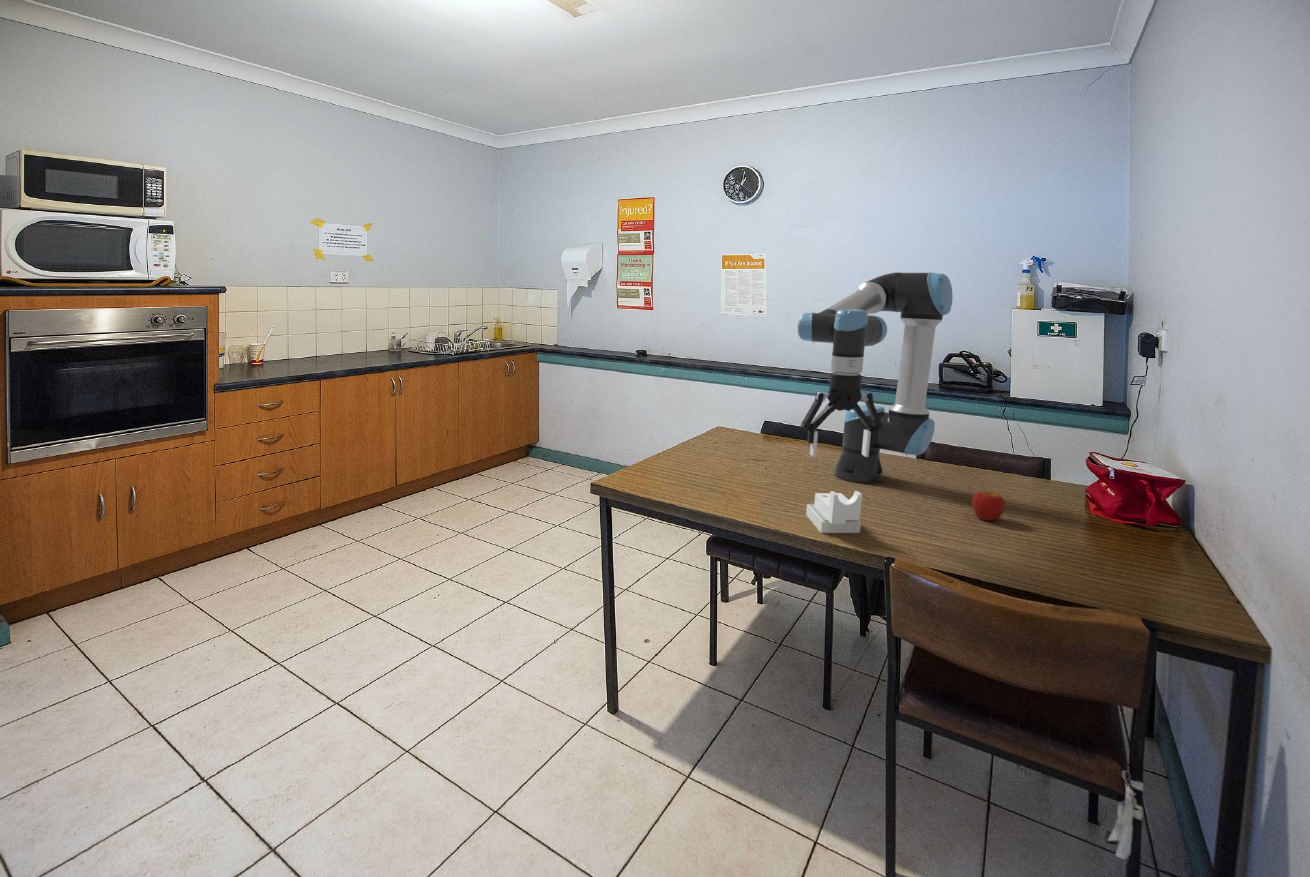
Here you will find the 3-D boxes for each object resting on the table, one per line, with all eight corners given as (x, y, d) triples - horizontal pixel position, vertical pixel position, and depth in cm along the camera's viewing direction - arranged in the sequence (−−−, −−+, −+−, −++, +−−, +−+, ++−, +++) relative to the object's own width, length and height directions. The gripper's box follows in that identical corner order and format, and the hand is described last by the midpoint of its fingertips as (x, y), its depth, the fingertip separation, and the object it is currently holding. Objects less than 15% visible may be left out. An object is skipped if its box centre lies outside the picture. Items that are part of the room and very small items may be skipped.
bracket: (859, 523, 163) (862, 494, 161) (831, 523, 162) (834, 494, 161) (839, 505, 176) (842, 478, 174) (814, 506, 175) (816, 478, 173)
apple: (997, 526, 173) (1002, 498, 171) (966, 518, 178) (970, 491, 176) (1005, 518, 179) (1010, 491, 177) (975, 511, 184) (979, 485, 182)
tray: (842, 514, 179) (843, 503, 178) (859, 532, 166) (861, 520, 165) (806, 514, 178) (807, 503, 177) (821, 532, 165) (822, 520, 164)
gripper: (801, 375, 158) (794, 459, 163) (901, 375, 160) (892, 459, 165) (792, 370, 165) (787, 451, 171) (889, 371, 167) (880, 451, 172)
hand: (838, 455), depth 168 cm, fingers open, 13 cm apart
